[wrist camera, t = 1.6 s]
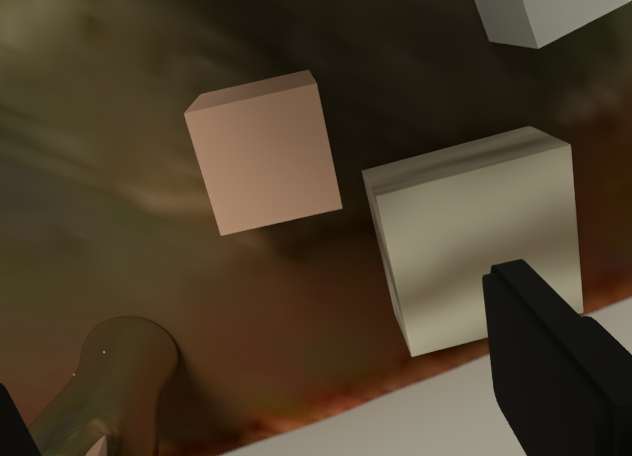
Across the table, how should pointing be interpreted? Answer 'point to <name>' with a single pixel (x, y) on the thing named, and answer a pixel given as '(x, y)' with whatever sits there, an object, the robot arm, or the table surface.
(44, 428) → the beer glass
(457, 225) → the ash base block
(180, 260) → the table surface
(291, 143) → the terracotta block
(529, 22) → the grey block
